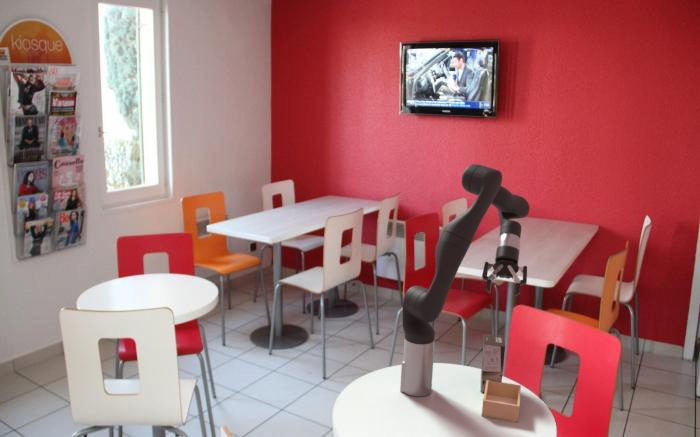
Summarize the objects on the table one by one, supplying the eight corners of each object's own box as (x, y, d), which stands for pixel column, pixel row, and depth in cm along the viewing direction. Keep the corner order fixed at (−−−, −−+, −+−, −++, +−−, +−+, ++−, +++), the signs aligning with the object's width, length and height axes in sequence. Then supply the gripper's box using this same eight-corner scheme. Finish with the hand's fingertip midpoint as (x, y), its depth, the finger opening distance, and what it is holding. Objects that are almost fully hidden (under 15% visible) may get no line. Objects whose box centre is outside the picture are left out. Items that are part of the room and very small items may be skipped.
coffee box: (501, 394, 196) (505, 346, 192) (480, 392, 197) (484, 344, 194) (500, 381, 205) (504, 335, 201) (480, 378, 206) (484, 332, 202)
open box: (481, 416, 183) (483, 400, 182) (485, 394, 196) (486, 380, 195) (517, 422, 181) (519, 406, 180) (519, 400, 193) (520, 385, 192)
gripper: (486, 242, 212) (479, 286, 205) (529, 246, 208) (524, 291, 200) (487, 253, 218) (481, 295, 211) (529, 257, 214) (525, 301, 206)
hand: (502, 293), depth 205 cm, fingers open, 8 cm apart
